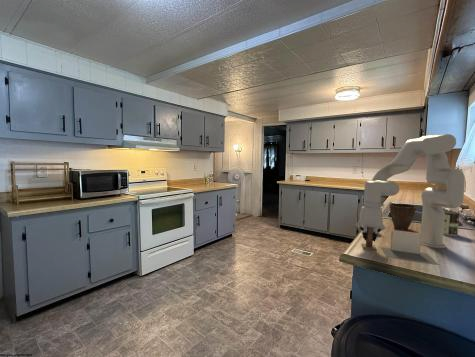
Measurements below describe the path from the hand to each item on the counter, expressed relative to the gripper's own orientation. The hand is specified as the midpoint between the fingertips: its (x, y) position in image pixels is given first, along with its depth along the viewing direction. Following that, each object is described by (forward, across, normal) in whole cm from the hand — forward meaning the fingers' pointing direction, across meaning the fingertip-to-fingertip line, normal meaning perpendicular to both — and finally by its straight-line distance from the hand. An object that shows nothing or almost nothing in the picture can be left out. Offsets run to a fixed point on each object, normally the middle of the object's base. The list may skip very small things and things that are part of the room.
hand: (369, 239), depth 122 cm
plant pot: (+5, -26, -52) cm, 58 cm away
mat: (+5, -16, +3) cm, 17 cm away
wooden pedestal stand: (+5, 0, 0) cm, 5 cm away
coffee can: (+5, -51, -52) cm, 73 cm away
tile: (+4, -16, -2) cm, 17 cm away
